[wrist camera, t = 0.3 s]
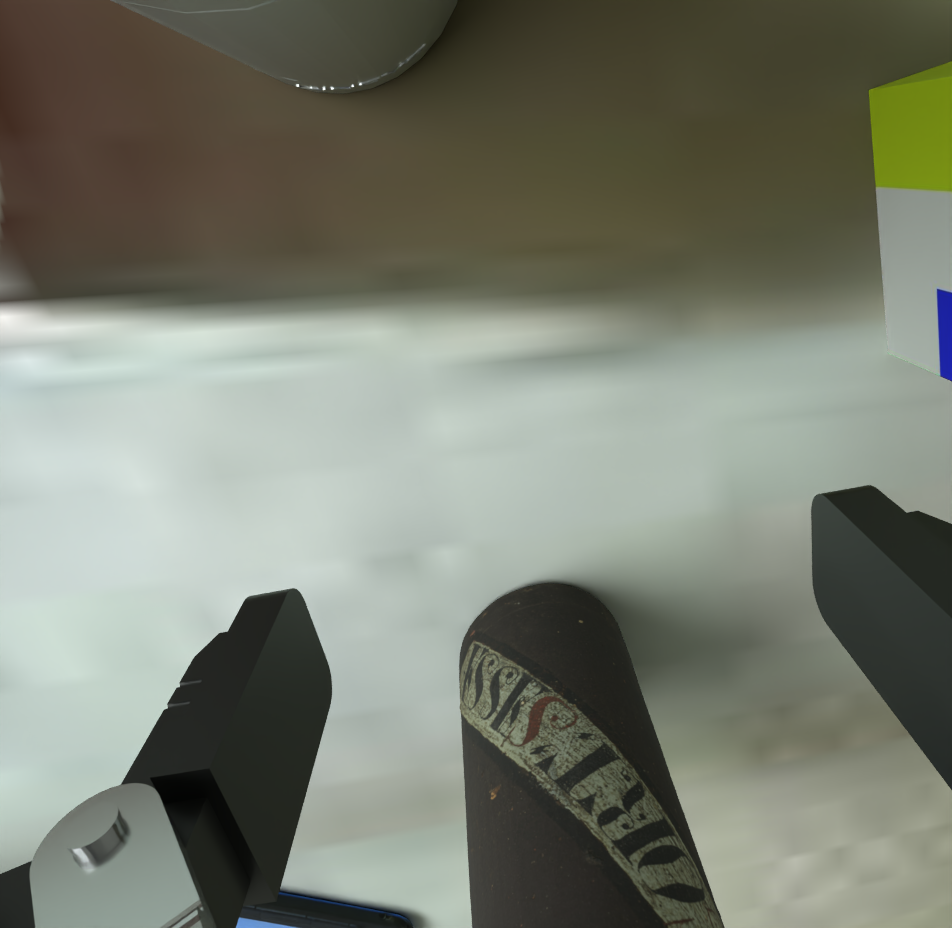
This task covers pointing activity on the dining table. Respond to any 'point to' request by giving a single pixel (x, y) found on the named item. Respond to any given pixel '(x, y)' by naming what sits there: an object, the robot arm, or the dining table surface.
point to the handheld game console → (315, 915)
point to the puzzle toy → (916, 214)
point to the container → (568, 776)
